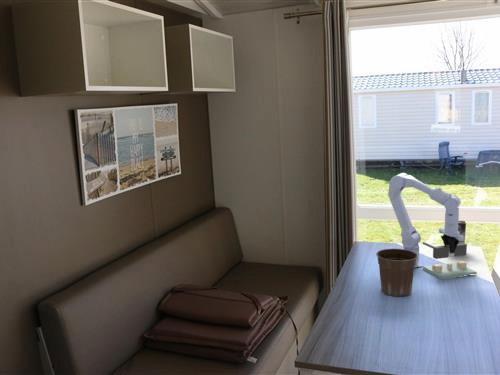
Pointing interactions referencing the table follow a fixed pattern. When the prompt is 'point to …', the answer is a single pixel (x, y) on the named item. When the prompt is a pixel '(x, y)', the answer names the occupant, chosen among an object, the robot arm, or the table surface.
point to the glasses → (447, 250)
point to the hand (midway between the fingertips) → (450, 252)
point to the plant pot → (396, 271)
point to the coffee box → (462, 229)
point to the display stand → (449, 270)
